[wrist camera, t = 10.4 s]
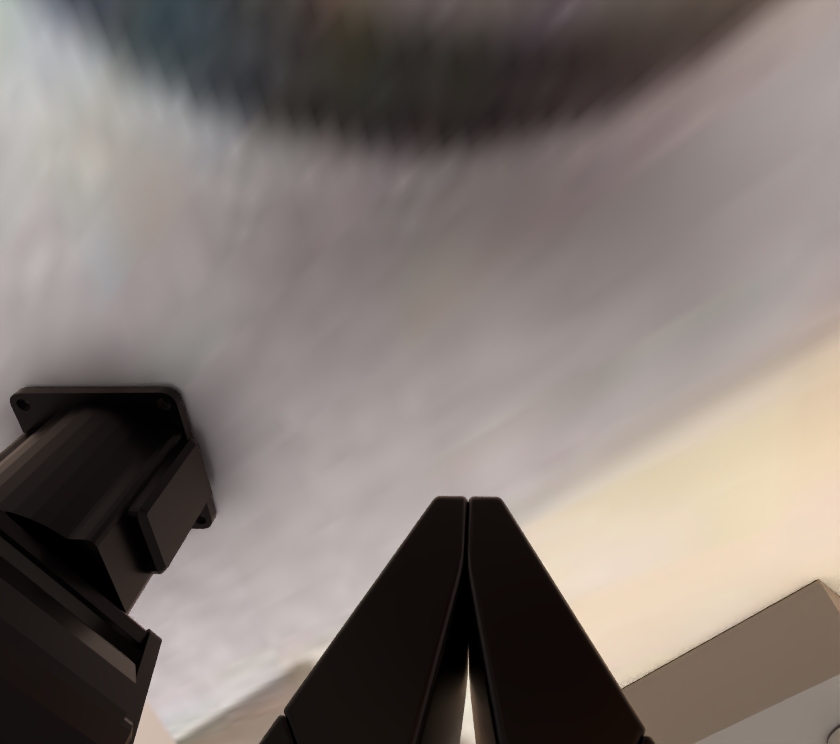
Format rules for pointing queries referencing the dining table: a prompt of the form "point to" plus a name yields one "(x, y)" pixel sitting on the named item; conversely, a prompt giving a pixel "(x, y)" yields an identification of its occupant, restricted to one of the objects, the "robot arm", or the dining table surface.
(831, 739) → the push button
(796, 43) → the dining table surface
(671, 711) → the switch panel
